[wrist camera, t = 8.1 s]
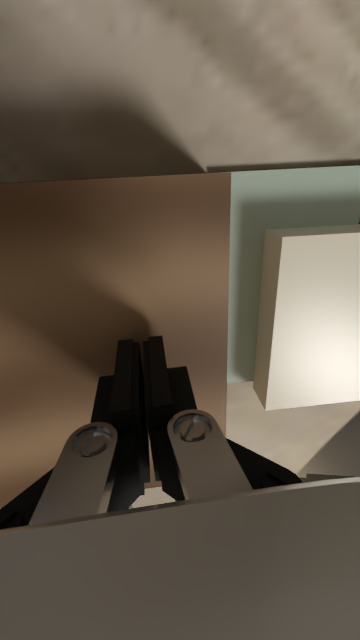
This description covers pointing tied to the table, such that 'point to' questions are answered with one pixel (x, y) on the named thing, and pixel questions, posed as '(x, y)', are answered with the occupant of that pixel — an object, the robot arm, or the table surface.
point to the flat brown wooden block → (105, 301)
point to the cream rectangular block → (309, 317)
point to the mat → (275, 213)
